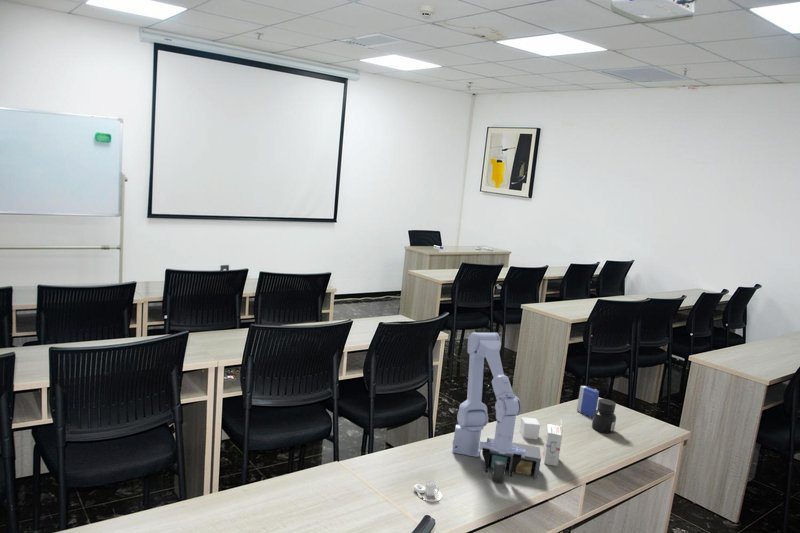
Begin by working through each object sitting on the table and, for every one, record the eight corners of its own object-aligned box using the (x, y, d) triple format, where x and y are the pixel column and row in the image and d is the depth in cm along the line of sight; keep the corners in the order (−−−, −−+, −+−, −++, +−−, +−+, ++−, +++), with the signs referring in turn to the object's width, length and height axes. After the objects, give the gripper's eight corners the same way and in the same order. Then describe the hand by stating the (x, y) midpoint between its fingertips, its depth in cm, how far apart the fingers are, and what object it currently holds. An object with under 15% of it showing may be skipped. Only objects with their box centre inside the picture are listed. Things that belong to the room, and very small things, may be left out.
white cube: (534, 432, 232) (536, 418, 231) (538, 439, 226) (540, 424, 225) (519, 431, 232) (521, 417, 231) (522, 438, 226) (524, 423, 225)
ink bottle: (617, 435, 238) (622, 407, 237) (595, 433, 238) (600, 405, 237) (609, 425, 248) (613, 398, 246) (588, 423, 248) (592, 396, 246)
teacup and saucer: (409, 491, 178) (410, 478, 178) (429, 485, 183) (430, 473, 183) (427, 505, 171) (428, 492, 171) (447, 499, 176) (449, 486, 176)
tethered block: (489, 482, 189) (492, 464, 188) (491, 460, 204) (493, 444, 203) (505, 485, 188) (507, 467, 187) (505, 463, 203) (508, 447, 202)
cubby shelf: (483, 468, 197) (486, 448, 196) (484, 457, 206) (487, 437, 205) (537, 479, 194) (540, 458, 193) (536, 466, 203) (539, 447, 202)
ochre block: (515, 472, 197) (517, 459, 197) (515, 465, 202) (517, 453, 202) (530, 474, 197) (532, 462, 196) (529, 468, 202) (531, 455, 201)
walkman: (595, 416, 257) (599, 390, 255) (591, 417, 255) (596, 391, 253) (579, 410, 263) (583, 384, 261) (576, 411, 261) (580, 385, 259)
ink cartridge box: (542, 453, 214) (548, 415, 212) (556, 456, 213) (562, 417, 211) (543, 464, 206) (549, 424, 203) (557, 466, 205) (564, 427, 203)
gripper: (481, 434, 185) (475, 474, 187) (527, 442, 182) (521, 483, 184) (482, 426, 192) (476, 464, 194) (526, 433, 189) (521, 473, 191)
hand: (498, 473), depth 189 cm, fingers open, 7 cm apart
